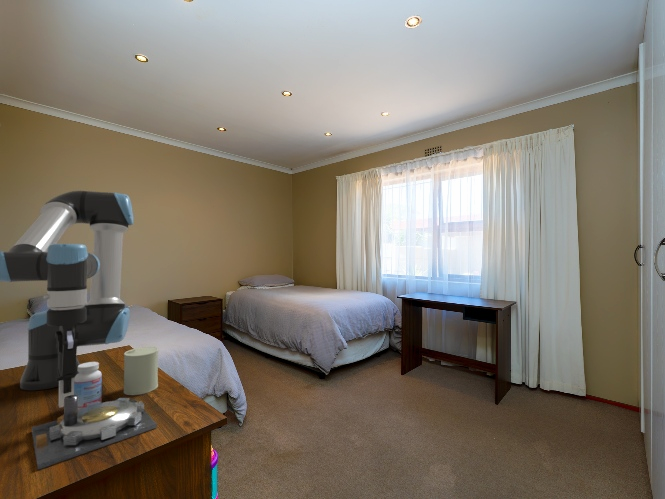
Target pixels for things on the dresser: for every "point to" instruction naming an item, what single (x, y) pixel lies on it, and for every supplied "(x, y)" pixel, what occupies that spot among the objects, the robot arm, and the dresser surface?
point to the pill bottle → (88, 384)
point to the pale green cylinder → (140, 370)
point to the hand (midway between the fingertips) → (66, 404)
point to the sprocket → (95, 419)
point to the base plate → (57, 451)
